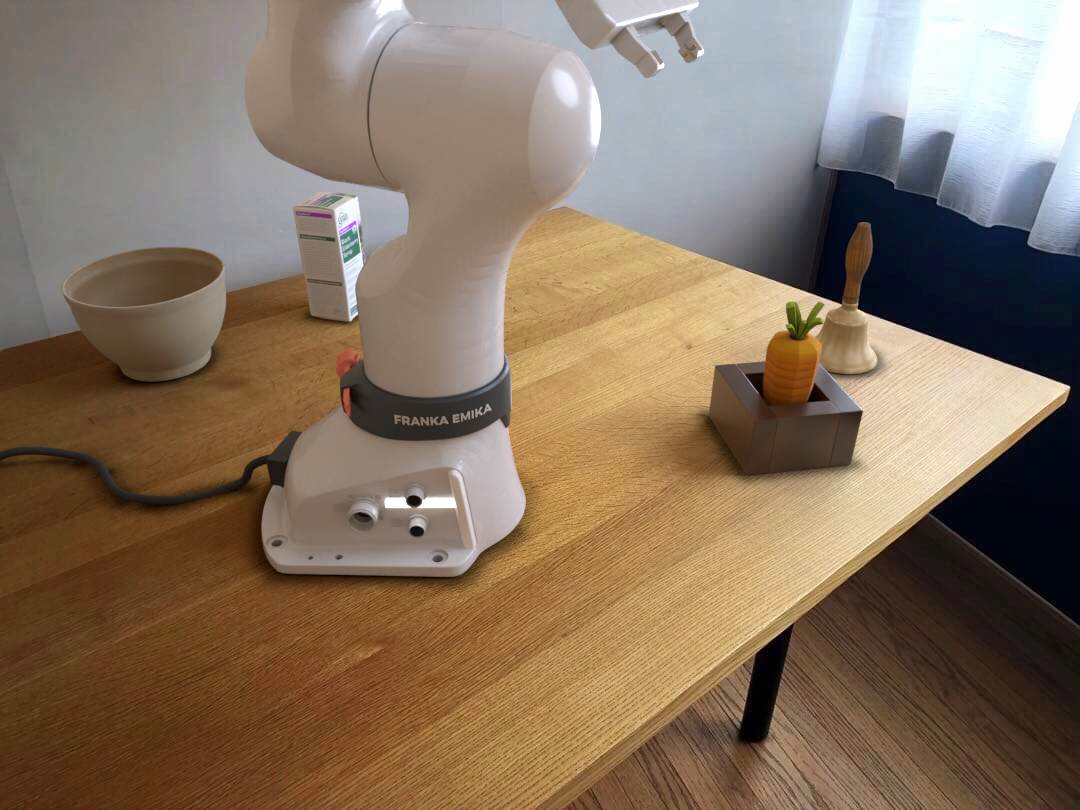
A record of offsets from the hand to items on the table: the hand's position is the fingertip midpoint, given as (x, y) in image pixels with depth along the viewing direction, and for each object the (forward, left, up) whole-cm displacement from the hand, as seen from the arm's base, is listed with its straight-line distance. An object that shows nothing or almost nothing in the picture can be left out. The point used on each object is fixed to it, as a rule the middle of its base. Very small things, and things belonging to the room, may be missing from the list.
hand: (677, 65), depth 85 cm
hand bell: (+21, -6, -32) cm, 38 cm away
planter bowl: (-55, +5, -32) cm, 64 cm away
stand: (+7, -21, -31) cm, 38 cm away
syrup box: (-36, +16, -32) cm, 51 cm away
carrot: (+7, -21, -32) cm, 38 cm away
